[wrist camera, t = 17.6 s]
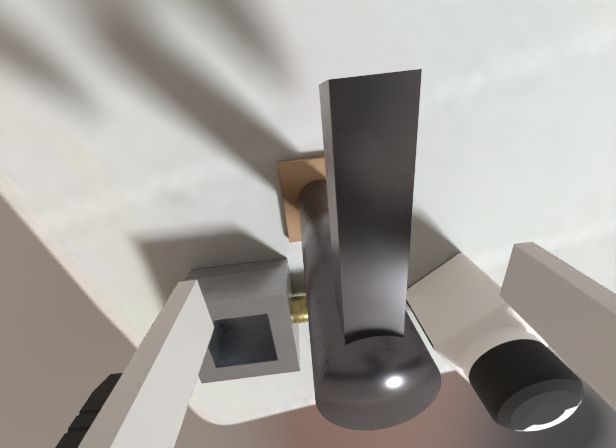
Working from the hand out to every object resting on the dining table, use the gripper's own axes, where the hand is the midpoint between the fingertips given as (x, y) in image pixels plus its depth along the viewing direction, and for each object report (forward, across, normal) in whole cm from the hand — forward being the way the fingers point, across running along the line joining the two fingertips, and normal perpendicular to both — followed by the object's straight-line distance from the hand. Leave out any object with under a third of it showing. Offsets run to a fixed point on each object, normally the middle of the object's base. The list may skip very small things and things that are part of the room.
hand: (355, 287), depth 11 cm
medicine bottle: (+12, -12, +13) cm, 21 cm away
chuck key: (+12, +1, -2) cm, 12 cm away
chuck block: (+12, +5, +11) cm, 17 cm away
